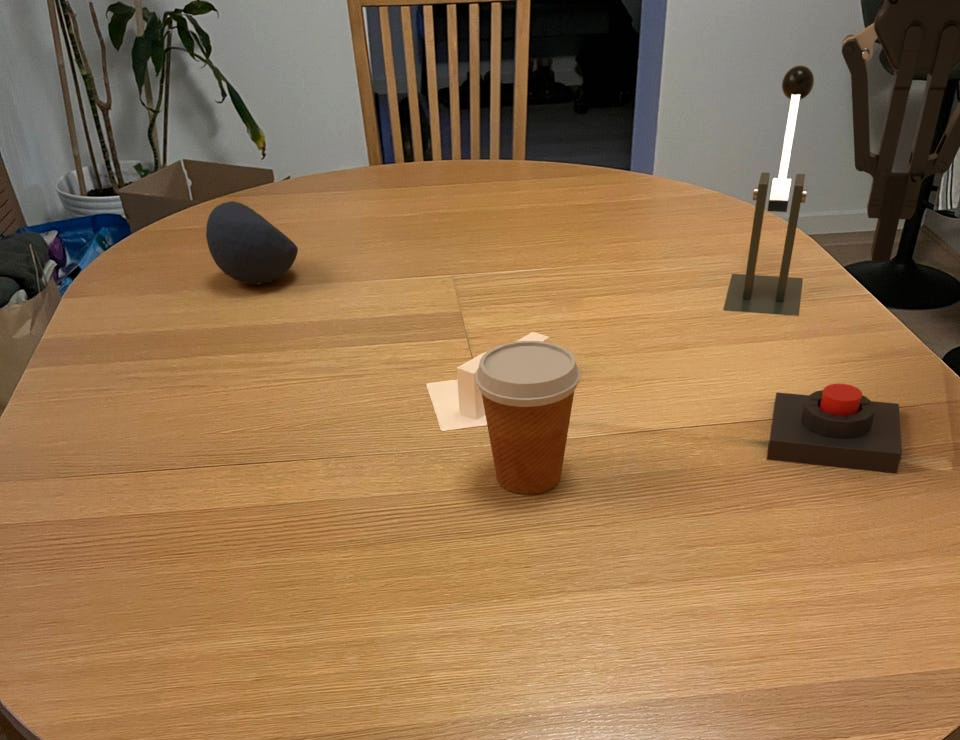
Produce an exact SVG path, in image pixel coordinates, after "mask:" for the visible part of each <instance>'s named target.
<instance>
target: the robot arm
mask: <svg viewBox="0 0 960 740" xmlns="http://www.w3.org/2000/svg"><path fill="white" fill-rule="evenodd" d="M876 40H878V41H879V43H880V45H881V47H882V49H883V51H884V54H885V56H886V58H887V60H888V62H889V64H890V66H891V68H892V69H893V70H894V72H893V77H892V83H891V87H890V93H889V98H888V103H887V108H886V112H885V117H884V122H883V126H882V131H881V135H880V140H879V144H878V150H877V153H874V152H872V151H871V140H870V139H871V138H870V137H871V136H870V109H869V108H870V106H869V78H868V77H869V76H868V65H867V64H868V63H867V62H869V61H870V60H871V59H872V58H873V55H874V44H875V42H876ZM841 55H842V57H843V60H844V62H845V64H846V67H847V69H848V72H849V73H850V81H851V103H852V104H851V105H852V107H851V108H852V128H853V129H852V130H853V153H854V168H855V170H856V171H858V172H863V173H866V174H869V175H870V176H871V178H872V182H871V186H870V191H869V196H868V200H867V204H866V205H867V206H866V211H867V212H866V213H867V219H877V221H876V226H875V230H874V234H873V239H872V244H871V249H870V251H871V252H870V253H871V254H870V256H871V261H872V262H891V257H892V252H893V248H894V244H895V241H896V236H897V231H898V227H899V222H900V220H911V219H912V218H913V216H914V215H915V212H916V208H917V204H918V200H919V195H920V192H921V188H922V185H923V182H924V180H925V179H926V178H928V177H929V176H932V175H936V174H941V175H942V174H945V173H947V172H948V171H949V169H950V168H951V166H952V164H953V162H954V159H955V158H956V156H957V154H958V152H959V150H960V100H959V102H958V103H957V104H956V105H957V106H956V108H955V110H954V112H953V114H952V115H951V118H950V120H949V122H948V124H947V126H946V128H945V130H944V132H943V134H942V137H941V138H940V141H939V142H938V144H937V147H936V148H935V150H934V153H931V149H932V144H933V141H934V136H935V132H936V128H937V125H938V120H939V115H940V113H941V112H940V111H941V107H942V103H943V99H944V95H945V91H946V88H947V85H948V82H949V77H950V73H951V71H952V70H954V69H955V68H956V67H957V66H958V65H959V64H960V0H883V2H882V4H881V5H880V7H879V8H878V10H877V11H876V13H875V15H874V18H873V22H872V23H871V24H869V25H868V26H866V27H865V28H863V29H862V30H860V31H858V32H857V33H856V34H848V35H845V37H844V38H843V40H842V42H841ZM920 73H925V74H927V76H926V84H925V88H924V92H923V96H922V101H921V106H920V110H919V115H918V117H917V118H918V119H917V123H916V128H915V131H914V136H913V141H912V144H911V149H910V153H909V158H908V162H907V170H906V172H892V171H893V167H894V162H895V157H896V154H897V149H898V144H899V140H900V136H901V132H902V131H901V130H902V127H903V123H904V122H903V121H904V117H905V111H906V108H907V105H908V100H909V95H910V91H911V87H912V84H913V80H914V75H916V74H920ZM930 153H931V154H930Z"/></svg>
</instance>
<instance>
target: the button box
mask: <svg viewBox="0 0 960 740" xmlns="http://www.w3.org/2000/svg"><path fill="white" fill-rule="evenodd" d="M823 390H824V389H823ZM823 390H817V391H814V392H812V393H810V394H809V395H808V394H799V393H788V392H775V398H774V404H773V411H772V412H773V414H772V420H771V427H770V435H769V441H768V445H767V453H766V460H769V461H776V462H786V463H795V464H804V465H813V466H823V467H832V468H839V469H840V468H841V469H851V470H860V471H867V472H868V471H869V472H878V473H887V474H897V473H898V471H899V466H900V463H901V459H902V456H903V449H902V431H901V417H900V416H901V415H900V404H899V403H894V402H886V401H885V402H884V401H874V400H871V399H870V398H868V397H867V396H866V395H863V394H862V398H861V402H860V406H859V410H858V412H857V414H853V415H847V416H841V415H833V414H830V413H827V412H824V411H823V410H821V409H820V403H821V399H822V394H823Z"/></svg>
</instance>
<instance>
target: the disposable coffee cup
mask: <svg viewBox="0 0 960 740" xmlns="http://www.w3.org/2000/svg"><path fill="white" fill-rule="evenodd" d="M516 341H517V342H516ZM516 341H511V342H506V343H503V344H499V345H497V346H494V347H492V348H490V349H489V350H487V351H485V352H486V353H485V354H484V355H483V356H482V358H481V360H480V363H479V368H478V369H477V371H476V373H475V381H476V384H477V386H478V387H479V390H480V391H481V393H482V398H483V404H484V410H485V415H486V421H487V425H486V426H487V432H488V437H489V443H490V449H491V453H492V459H493V465H494V471H495V479H496V482H497V483H498V485H499V486H500V487H502V488H503V489H505V490H507V491H510V492H511V493H515V494H521V495H532V494H533V495H534V494H540V493H544V492H547V491H549V490H551V489H553V488H555V487H556V486H557V485H558V484H559V483H560V481H561V479H562V471H563V467H564V466H563V464H564V459H565V454H566V448H567V447H566V445H567V439H568V433H569V428H570V421H571V415H572V410H573V409H572V408H573V402H574V396H575V391H576V389H577V387H578V384H579V383H580V380H581V370H580V367H579V366H578V365H577V360H576V357H575V355H574V353H573V352H571V350H569V349H568V348H566V347H565V346H563V345H562V346H561V345H559V344H556V343H553V342H550V343H549V342H543V341H518V340H516Z"/></svg>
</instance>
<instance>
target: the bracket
mask: <svg viewBox="0 0 960 740" xmlns="http://www.w3.org/2000/svg"><path fill="white" fill-rule="evenodd" d="M770 176H771V172H761V173H760V178H759V181H758V185H757V186H756V187H755V186H754V187H753V193H752V201H755V206H754V207H755V208H754V214H753V222H752V228H751V234H750V243H749V249H748V250H749V251H748V256H747V263H746V270H745V274H743V273H731V276H730V281H729V285H728V289H727V293H726V296H725V301H724V305H723V309H722V311H724V312H739V313H751V314H765V315H777V316H778V315H779V316H791V317H799V316H800V311H801V310H800V308H801V299H802V289H803V281H804V278H803V277H793V276H791V277H790V276H789V273H790V268H791V261H792V256H793V251H794V243H795V240H796V239H795V238H796V232H797V226H798V220H799V216H800V209H801V204H805V203H806V200H807V193H808V189H804V186H805V178H806V174H805V173H796V174H795V180H794V186H793V191H792V197H791V204H790V210H789V214H788V215H789V216H788V222H787V227H786V234H785V239H784V246H783V252H782V257H781V263H780V269H779V270H780V271H779V274H778V275H779V276H775V275H760V274H756V270H757V262H758V256H759V250H760V244H761V236H762V230H763V224H764V223H763V222H764V216H765V209H766V203H767V196H768V189H769V184H770V183H769V182H770Z"/></svg>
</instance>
